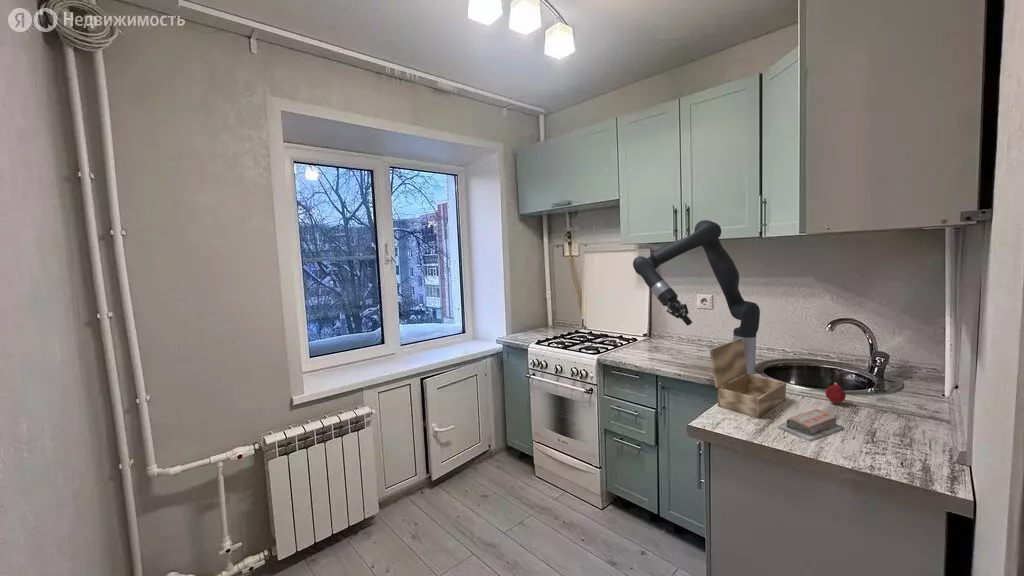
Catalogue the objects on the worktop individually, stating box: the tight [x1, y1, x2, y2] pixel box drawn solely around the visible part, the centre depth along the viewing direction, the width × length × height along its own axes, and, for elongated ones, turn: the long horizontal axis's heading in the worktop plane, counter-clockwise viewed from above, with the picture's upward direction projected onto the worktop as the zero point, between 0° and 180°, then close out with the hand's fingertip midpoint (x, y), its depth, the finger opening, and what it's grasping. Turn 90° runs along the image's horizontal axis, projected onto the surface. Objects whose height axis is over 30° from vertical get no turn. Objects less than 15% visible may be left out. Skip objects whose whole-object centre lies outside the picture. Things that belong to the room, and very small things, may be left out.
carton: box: [717, 374, 787, 419], centre depth 152 cm, size 14×24×7 cm, turn 127°
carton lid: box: [709, 338, 747, 389], centre depth 158 cm, size 14×25×1 cm
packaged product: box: [777, 408, 844, 442], centre depth 131 cm, size 18×5×10 cm
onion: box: [825, 382, 847, 405], centre depth 150 cm, size 6×6×8 cm
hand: (690, 324), depth 170 cm, fingers closed
